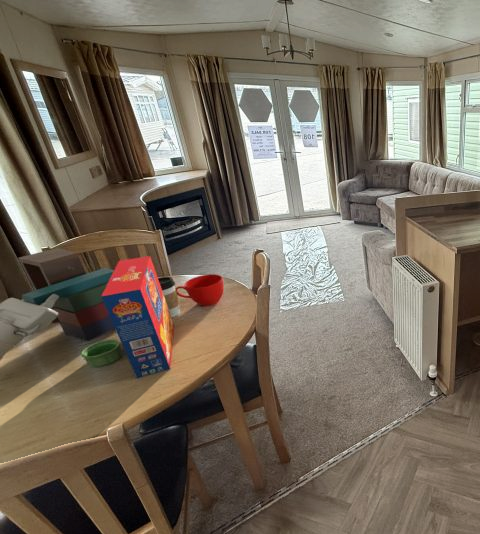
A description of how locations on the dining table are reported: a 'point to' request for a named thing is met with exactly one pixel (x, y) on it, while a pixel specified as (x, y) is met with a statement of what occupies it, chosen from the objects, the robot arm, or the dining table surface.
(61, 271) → the walnut shelf
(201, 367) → the dining table surface
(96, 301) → the book pile
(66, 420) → the dining table surface
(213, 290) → the ceramic cup
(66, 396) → the dining table surface
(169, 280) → the coffee cup
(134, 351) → the cereal box
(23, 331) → the robot arm
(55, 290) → the teal bar
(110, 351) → the ramekin
